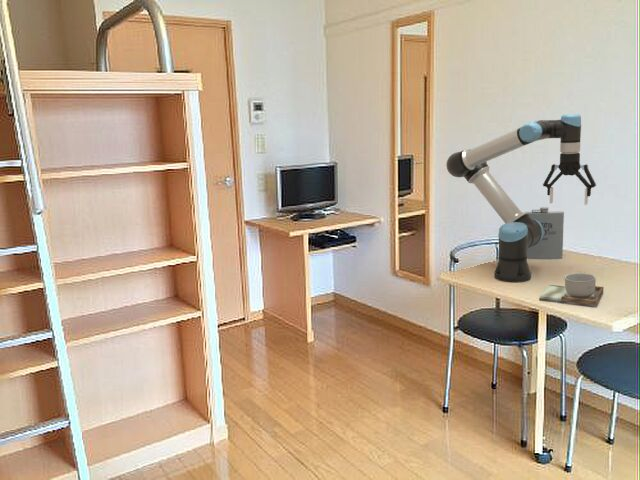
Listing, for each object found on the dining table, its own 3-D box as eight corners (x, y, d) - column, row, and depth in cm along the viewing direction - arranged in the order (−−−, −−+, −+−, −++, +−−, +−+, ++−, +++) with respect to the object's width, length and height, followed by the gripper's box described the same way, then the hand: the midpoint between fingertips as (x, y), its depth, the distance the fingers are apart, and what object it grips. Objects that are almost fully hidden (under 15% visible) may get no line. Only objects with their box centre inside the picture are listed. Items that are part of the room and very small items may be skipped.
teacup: (592, 302, 211) (593, 281, 209) (561, 298, 217) (562, 278, 215) (597, 291, 222) (598, 271, 220) (567, 287, 228) (568, 268, 226)
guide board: (539, 300, 220) (539, 294, 219) (549, 287, 234) (549, 281, 233) (596, 307, 209) (596, 301, 208) (603, 292, 223) (603, 286, 222)
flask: (524, 259, 275) (525, 208, 269) (523, 256, 279) (524, 206, 274) (563, 259, 270) (564, 207, 264) (561, 256, 275) (563, 205, 269)
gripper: (604, 151, 230) (602, 203, 235) (540, 152, 244) (539, 200, 249) (602, 153, 224) (599, 206, 229) (536, 154, 238) (535, 203, 243)
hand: (568, 203), depth 239 cm, fingers open, 13 cm apart
